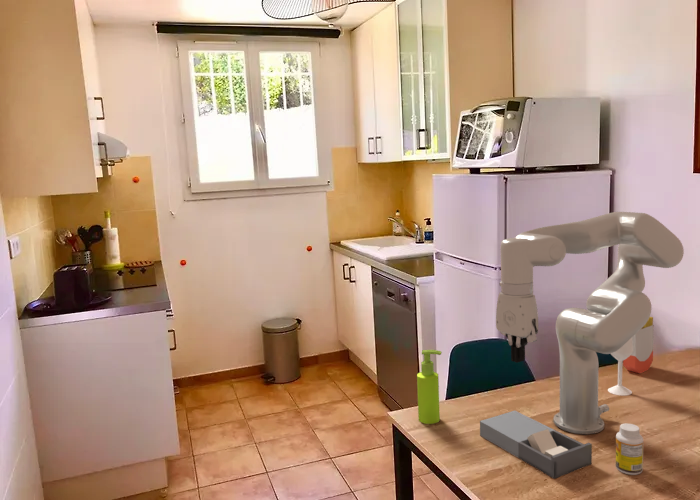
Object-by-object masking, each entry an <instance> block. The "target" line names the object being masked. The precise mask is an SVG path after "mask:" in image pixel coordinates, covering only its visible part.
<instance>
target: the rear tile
mask: <svg viewBox="0 0 700 500" xmlns="http://www.w3.org/2000/svg"><path fill="white" fill-rule="evenodd" d="M527 439H528V441H529V443H530V445H531V447H532V448H534V449H536V450H537V451H539V452H541V453H543V454H545V451H547V450H550V449H552V448H555V447H557V445H556V443H555V441H554V439H553V437H552V436H551V434H550V432H549V430H548V429H547V430H543V431H540V432H537V433H534V434H532V435H530V436H529V437H527Z"/></svg>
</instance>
